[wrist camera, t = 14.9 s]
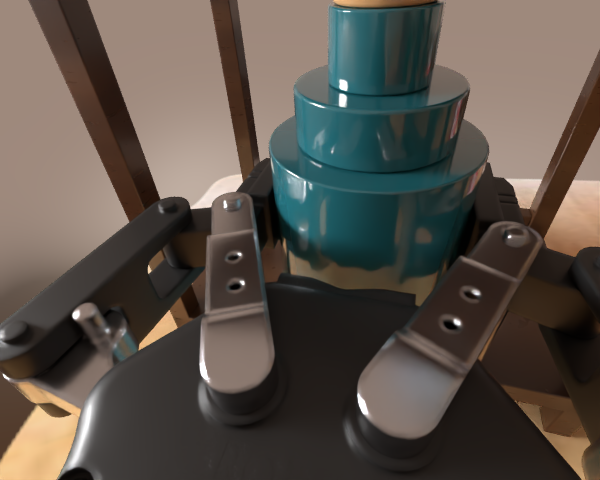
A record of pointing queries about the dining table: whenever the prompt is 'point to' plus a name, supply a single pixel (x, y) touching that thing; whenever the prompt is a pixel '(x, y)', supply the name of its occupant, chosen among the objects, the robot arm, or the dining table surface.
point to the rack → (142, 191)
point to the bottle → (377, 154)
